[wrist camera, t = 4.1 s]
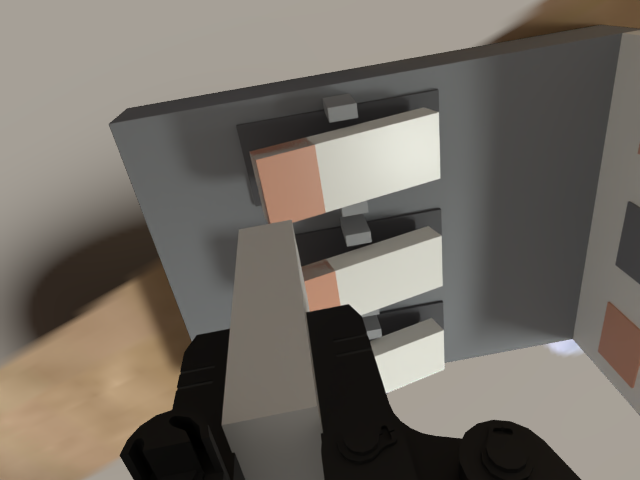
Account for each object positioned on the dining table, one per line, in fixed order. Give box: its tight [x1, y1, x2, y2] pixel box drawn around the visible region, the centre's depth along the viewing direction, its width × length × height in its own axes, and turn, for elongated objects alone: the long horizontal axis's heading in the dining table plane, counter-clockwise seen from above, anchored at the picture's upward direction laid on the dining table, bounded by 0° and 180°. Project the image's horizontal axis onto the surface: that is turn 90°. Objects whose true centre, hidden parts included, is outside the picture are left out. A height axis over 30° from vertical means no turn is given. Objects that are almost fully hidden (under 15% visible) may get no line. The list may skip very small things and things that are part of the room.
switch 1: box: [249, 107, 440, 224], centre depth 19 cm, size 8×3×1 cm, turn 99°
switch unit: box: [109, 25, 640, 415], centre depth 23 cm, size 24×18×10 cm
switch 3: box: [370, 318, 444, 393], centre depth 25 cm, size 8×3×1 cm, turn 99°
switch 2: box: [301, 226, 443, 315], centre depth 22 cm, size 8×3×1 cm, turn 99°
